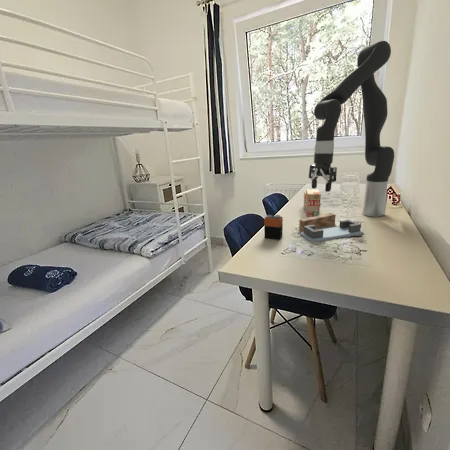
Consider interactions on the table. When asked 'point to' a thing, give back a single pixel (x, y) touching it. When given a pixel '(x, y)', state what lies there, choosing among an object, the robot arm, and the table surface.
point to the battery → (273, 227)
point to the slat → (318, 221)
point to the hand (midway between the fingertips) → (320, 189)
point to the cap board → (332, 231)
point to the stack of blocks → (312, 202)
